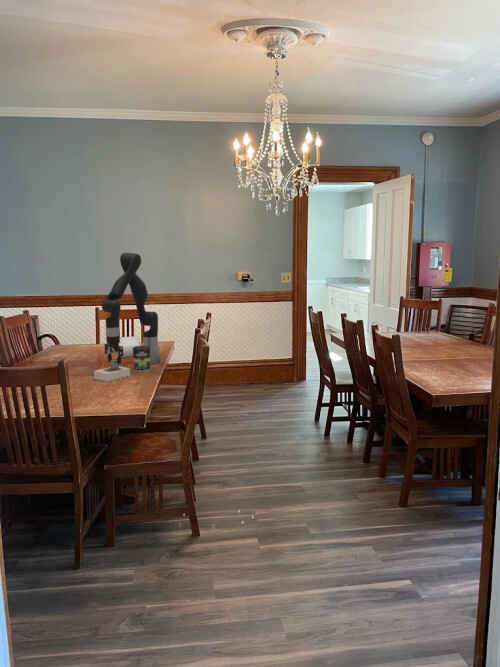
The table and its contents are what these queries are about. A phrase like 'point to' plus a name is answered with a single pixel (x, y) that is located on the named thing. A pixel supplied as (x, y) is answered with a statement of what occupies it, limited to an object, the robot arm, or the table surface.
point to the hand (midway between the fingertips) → (114, 362)
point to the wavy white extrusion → (128, 345)
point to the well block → (111, 373)
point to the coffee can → (141, 358)
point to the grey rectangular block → (114, 365)
